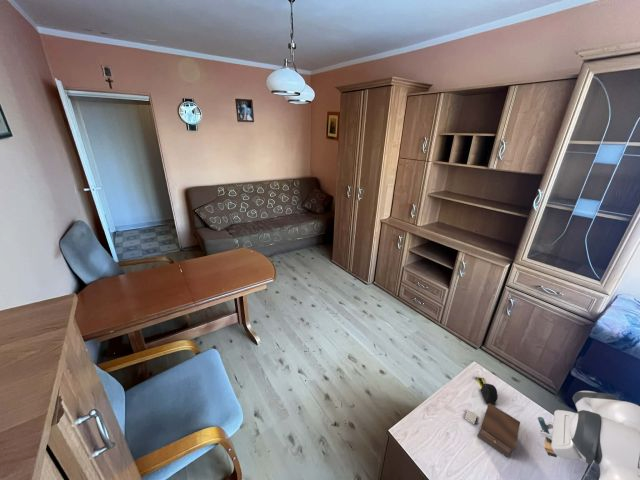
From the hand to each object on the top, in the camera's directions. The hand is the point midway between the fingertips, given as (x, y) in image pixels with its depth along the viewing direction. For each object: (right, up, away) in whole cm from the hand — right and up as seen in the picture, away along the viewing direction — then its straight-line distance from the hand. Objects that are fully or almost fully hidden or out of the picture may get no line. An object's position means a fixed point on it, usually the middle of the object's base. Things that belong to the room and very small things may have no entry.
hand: (541, 430), depth 110 cm
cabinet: (-12, -10, +11) cm, 19 cm away
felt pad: (-20, -5, +16) cm, 26 cm away
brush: (+4, -7, -1) cm, 8 cm away
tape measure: (-6, -1, +30) cm, 30 cm away
